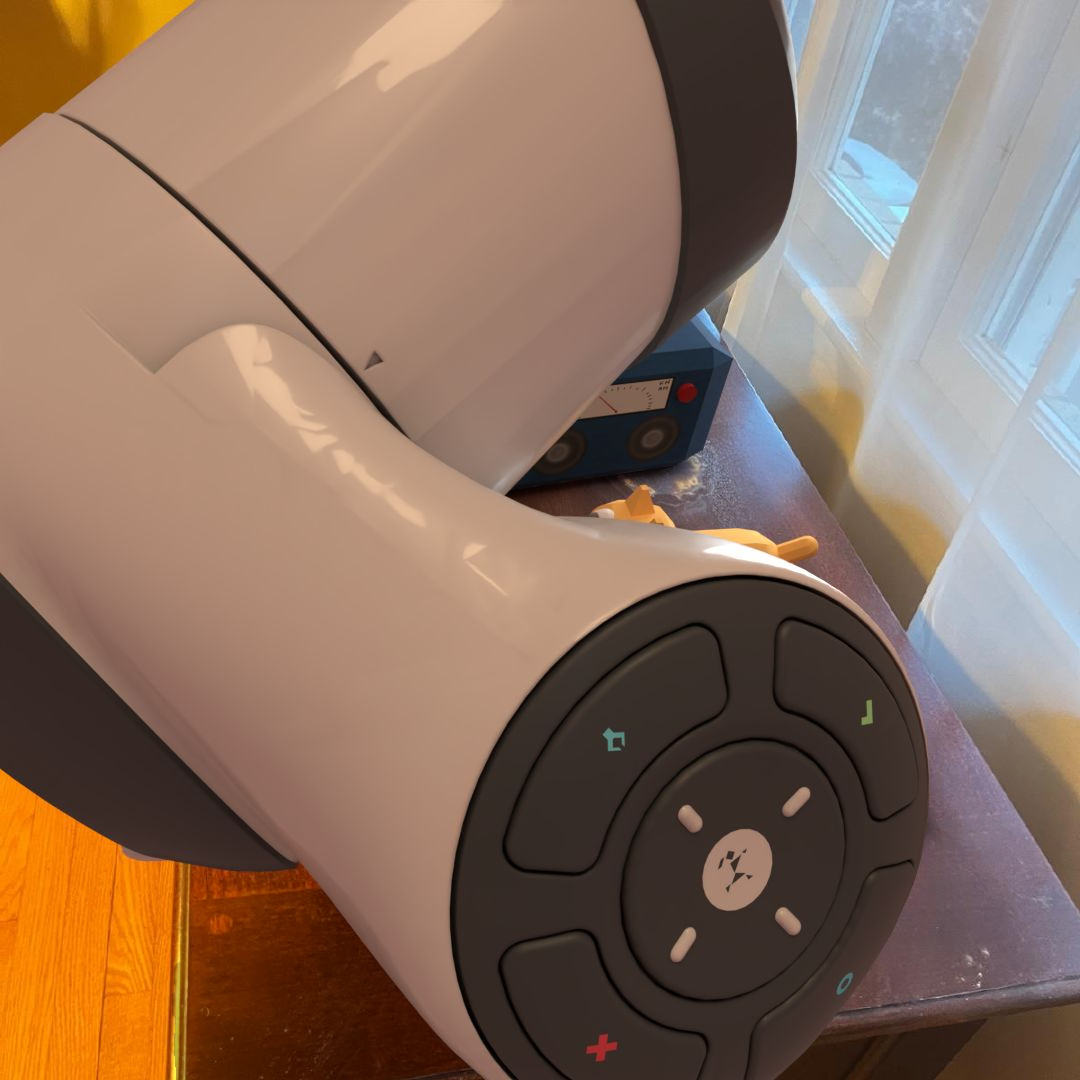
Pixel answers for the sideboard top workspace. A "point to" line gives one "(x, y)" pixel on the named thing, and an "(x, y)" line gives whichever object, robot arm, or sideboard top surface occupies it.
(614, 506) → the dog
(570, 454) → the radio
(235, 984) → the sideboard top surface
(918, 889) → the sideboard top surface
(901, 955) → the sideboard top surface
